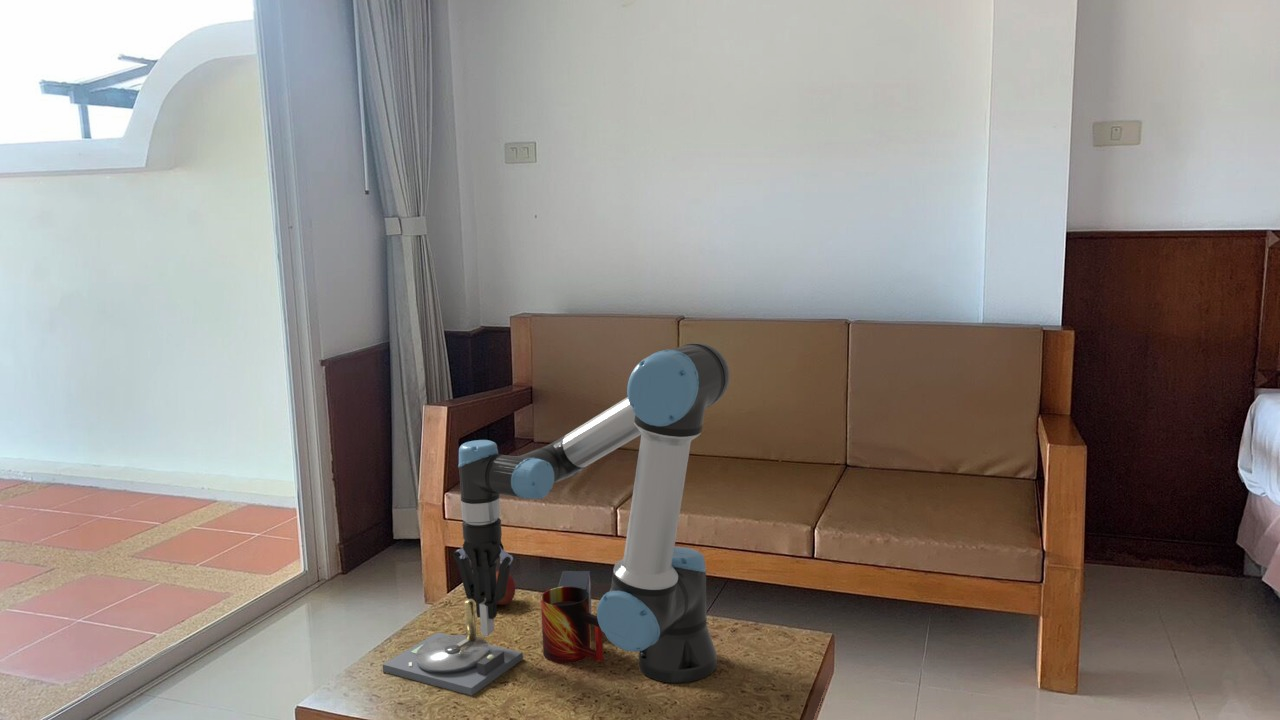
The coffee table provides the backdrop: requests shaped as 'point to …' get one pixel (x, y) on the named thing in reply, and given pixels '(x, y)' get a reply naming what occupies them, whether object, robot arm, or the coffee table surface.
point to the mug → (569, 626)
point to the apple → (507, 591)
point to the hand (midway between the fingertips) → (487, 632)
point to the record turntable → (455, 681)
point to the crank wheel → (454, 648)
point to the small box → (577, 581)
